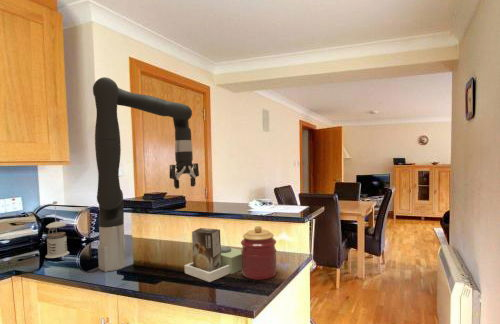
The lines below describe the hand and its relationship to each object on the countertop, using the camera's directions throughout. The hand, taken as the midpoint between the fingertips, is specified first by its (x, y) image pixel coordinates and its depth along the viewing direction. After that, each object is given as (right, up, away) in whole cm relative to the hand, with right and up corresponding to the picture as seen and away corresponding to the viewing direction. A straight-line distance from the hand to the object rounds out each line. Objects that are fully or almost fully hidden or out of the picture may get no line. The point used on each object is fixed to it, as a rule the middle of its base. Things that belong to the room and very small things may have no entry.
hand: (185, 187), depth 140 cm
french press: (-62, -32, +8) cm, 70 cm away
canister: (+32, -30, -24) cm, 50 cm away
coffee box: (+13, -31, -22) cm, 40 cm away
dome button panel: (+16, -30, -19) cm, 39 cm away
